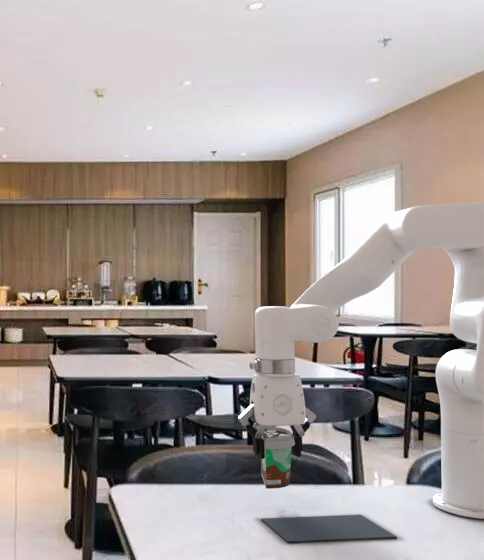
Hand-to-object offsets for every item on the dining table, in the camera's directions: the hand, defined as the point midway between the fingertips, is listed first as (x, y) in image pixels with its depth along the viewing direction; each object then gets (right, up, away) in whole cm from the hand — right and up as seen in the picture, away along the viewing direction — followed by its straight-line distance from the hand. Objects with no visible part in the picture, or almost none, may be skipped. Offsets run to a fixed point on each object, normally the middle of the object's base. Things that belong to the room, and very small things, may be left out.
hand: (277, 455), depth 125 cm
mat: (+5, -10, -12) cm, 16 cm away
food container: (0, -5, 0) cm, 5 cm away
